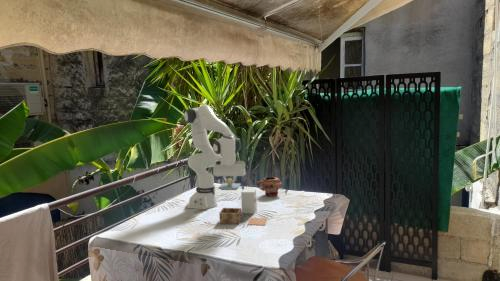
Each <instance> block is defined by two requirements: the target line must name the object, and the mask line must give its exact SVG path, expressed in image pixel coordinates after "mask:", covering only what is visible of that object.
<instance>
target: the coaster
mask: <svg viewBox="0 0 500 281" xmlns="http://www.w3.org/2000/svg"><path fill="white" fill-rule="evenodd" d="M267 220H268V218H267V217H263V218H262V217H261V218H260V217H258V218H257V217H249V220H248V222H247V226H266V225H267Z"/></svg>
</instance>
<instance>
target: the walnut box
mask: <svg viewBox="0 0 500 281" xmlns="http://www.w3.org/2000/svg"><path fill="white" fill-rule="evenodd" d="M218 214H219V224H220V225H240V223H241V220H242V219H243V217H242V215H243V213H242V207H241V208H240V207H237V208H236V207H223V208H222V209H221V210H220V211H219V213H218Z"/></svg>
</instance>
